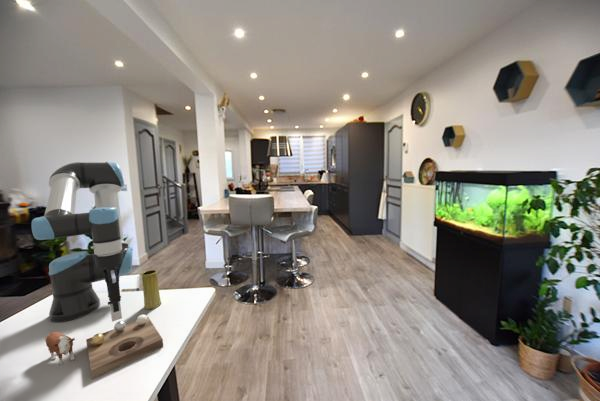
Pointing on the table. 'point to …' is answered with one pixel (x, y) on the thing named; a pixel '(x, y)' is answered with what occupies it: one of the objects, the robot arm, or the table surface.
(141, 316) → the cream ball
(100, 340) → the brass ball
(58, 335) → the bull figurine
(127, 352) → the board
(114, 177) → the robot arm
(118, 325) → the steel ball
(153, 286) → the vase
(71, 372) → the table surface
